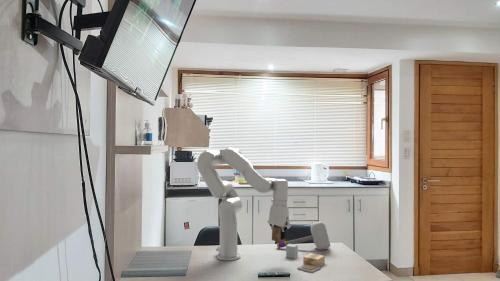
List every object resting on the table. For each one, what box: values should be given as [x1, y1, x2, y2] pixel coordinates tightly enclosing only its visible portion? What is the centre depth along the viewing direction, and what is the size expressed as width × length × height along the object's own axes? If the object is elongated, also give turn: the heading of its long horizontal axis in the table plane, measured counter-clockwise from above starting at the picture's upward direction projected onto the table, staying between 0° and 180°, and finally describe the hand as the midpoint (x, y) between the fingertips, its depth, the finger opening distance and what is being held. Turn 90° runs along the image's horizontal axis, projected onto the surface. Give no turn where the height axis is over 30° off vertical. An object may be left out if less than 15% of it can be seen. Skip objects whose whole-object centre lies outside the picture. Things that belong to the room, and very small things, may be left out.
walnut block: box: [271, 226, 286, 243], centre depth 188 cm, size 5×5×7 cm
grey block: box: [285, 243, 299, 259], centre depth 198 cm, size 5×5×6 cm
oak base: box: [302, 252, 326, 267], centre depth 185 cm, size 8×8×4 cm
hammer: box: [276, 220, 331, 251], centre depth 213 cm, size 15×8×30 cm
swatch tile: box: [297, 264, 322, 274], centre depth 176 cm, size 8×8×1 cm
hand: (278, 237), depth 187 cm, fingers closed on walnut block, 5 cm apart
